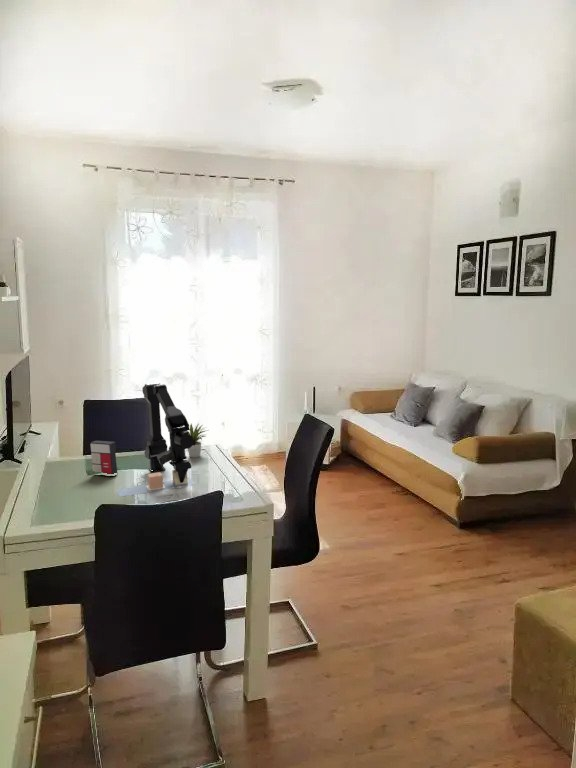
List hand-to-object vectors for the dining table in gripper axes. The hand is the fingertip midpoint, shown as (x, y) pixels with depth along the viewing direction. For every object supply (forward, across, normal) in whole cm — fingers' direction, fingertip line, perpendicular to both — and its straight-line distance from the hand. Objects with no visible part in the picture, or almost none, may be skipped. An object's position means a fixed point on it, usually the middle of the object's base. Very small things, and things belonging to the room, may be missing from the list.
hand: (180, 480), depth 240 cm
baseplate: (+2, 0, -10) cm, 10 cm away
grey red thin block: (+2, -30, -27) cm, 40 cm away
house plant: (+2, -38, +15) cm, 41 cm away
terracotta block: (+1, 0, -10) cm, 10 cm away
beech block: (+1, 0, 0) cm, 1 cm away
